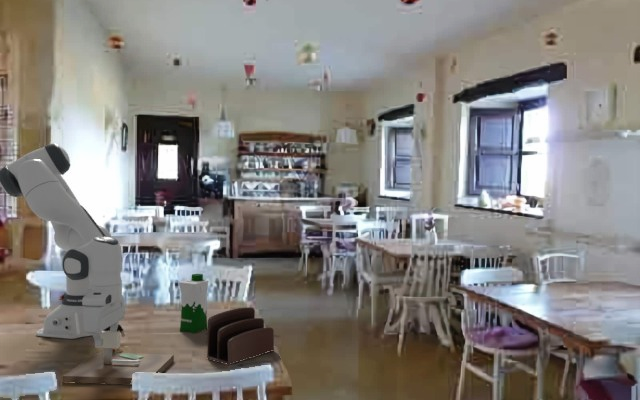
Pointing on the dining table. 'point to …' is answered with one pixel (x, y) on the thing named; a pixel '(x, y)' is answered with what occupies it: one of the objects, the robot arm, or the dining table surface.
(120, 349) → the grandmother figurine
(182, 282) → the milk carton
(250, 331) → the letter holder
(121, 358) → the wooden cutting board
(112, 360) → the grey piece
